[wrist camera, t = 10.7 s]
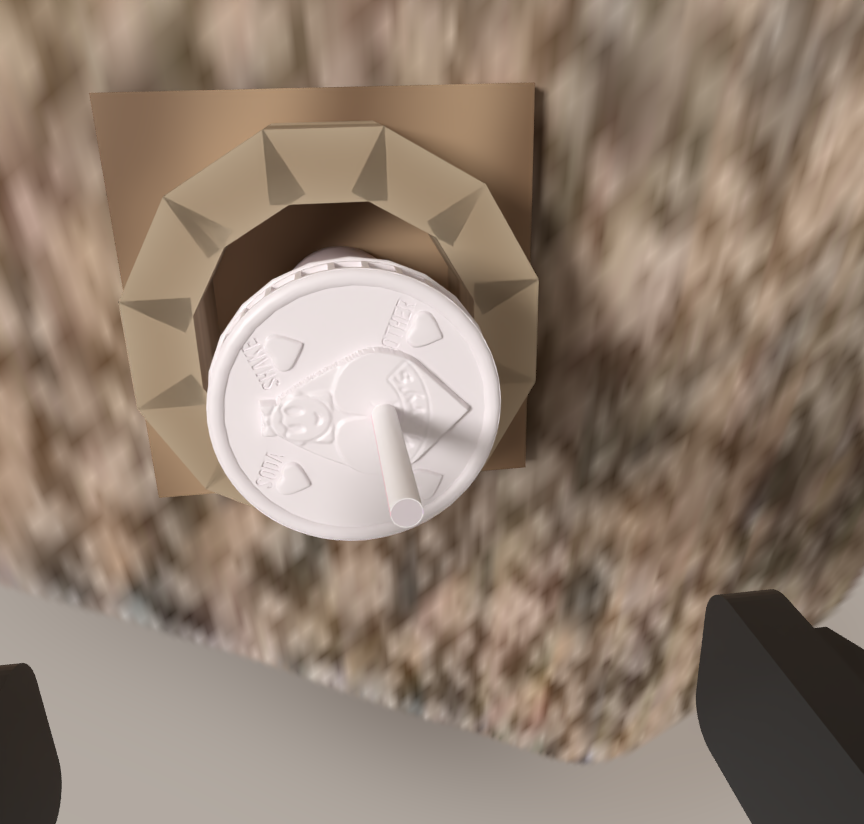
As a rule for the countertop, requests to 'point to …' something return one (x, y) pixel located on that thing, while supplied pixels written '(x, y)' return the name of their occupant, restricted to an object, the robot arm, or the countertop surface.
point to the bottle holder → (310, 227)
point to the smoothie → (352, 397)
